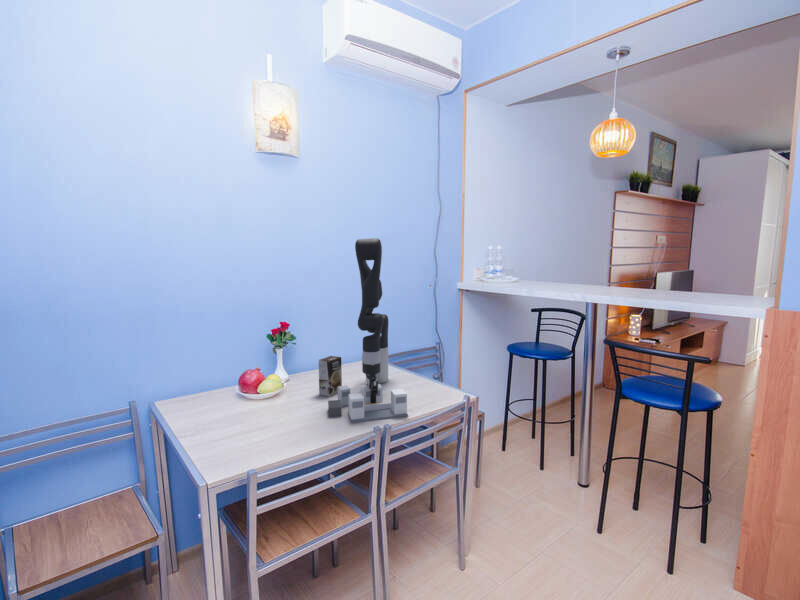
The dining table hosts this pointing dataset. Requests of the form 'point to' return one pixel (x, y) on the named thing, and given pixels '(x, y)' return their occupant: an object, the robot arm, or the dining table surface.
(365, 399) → the loose module
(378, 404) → the rail mount
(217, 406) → the dining table surface
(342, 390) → the block
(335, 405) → the block
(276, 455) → the dining table surface
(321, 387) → the coffee box
